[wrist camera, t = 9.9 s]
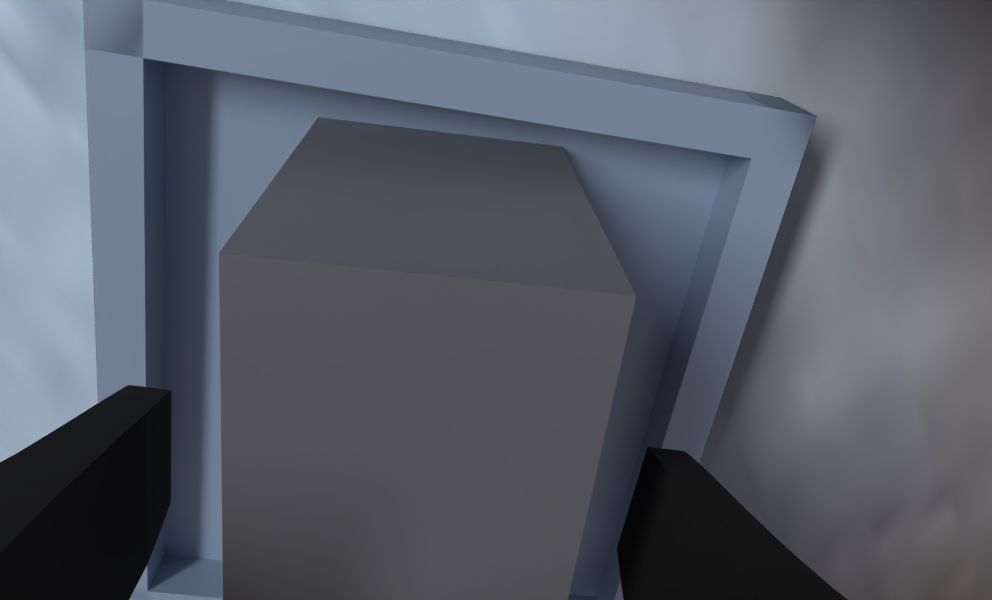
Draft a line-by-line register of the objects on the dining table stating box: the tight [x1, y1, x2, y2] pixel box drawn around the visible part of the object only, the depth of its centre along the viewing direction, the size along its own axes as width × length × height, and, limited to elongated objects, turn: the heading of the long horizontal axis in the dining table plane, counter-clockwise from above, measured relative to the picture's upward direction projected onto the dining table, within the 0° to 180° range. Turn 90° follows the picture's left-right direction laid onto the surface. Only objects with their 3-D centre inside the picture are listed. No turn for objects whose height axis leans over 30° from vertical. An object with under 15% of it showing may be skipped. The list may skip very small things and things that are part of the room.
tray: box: [83, 0, 817, 600], centre depth 15 cm, size 11×12×2 cm
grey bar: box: [219, 117, 636, 600], centre depth 12 cm, size 4×8×6 cm, turn 173°
